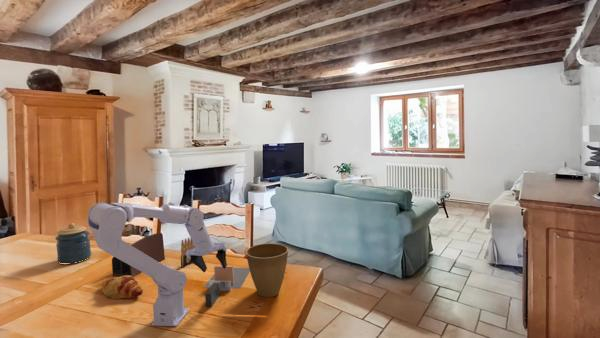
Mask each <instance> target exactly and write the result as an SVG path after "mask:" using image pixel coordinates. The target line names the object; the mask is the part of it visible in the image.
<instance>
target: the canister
mask: <svg viewBox="0 0 600 338" xmlns="http://www.w3.org/2000/svg"><path fill="white" fill-rule="evenodd" d="M56 234H57V236H55V241H56V245H55V247H56V251H57V252H56V253H57V258H56V259H57V262H58V263H59V262H60V263H75V262H79V261H82V260H85V259H87V258H89V257H90V256H91V257H92V250H91V242H90V241H91V239H90V238H89V237H90V236H89V235H90V231H88V230H87V227H86V226H83V225H76V224H75V223H74V222H70V223H69V224H68V225H67V226H66V227H62V228H60V230H59V231H57V232H56ZM91 257H90V258H91ZM90 258H89V259H90ZM87 260H88V259H87ZM85 261H86V260H85ZM75 264H76V263H75Z"/></svg>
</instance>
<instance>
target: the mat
mask: <svg viewBox="0 0 600 338" xmlns="http://www.w3.org/2000/svg"><path fill="white" fill-rule="evenodd" d="M233 269H234V284H233V285H231V289H238V290H239V289H241V288H242V286H243V284H244V282H245V281H246V279H247V277H248V276H249V273H250V269H249V267H233ZM209 280H215V273H213V275H212V276H211V278H210V279H209ZM209 280H208V281H207V282H206V284H205V285H204V286H203V289H204V288H205V289H209Z"/></svg>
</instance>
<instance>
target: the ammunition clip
mask: <svg viewBox="0 0 600 338" xmlns="http://www.w3.org/2000/svg"><path fill="white" fill-rule="evenodd" d="M180 246H181V247H180V248H181V249H180V253H181V254H180V267H182V268H186V267H188V266H189V265H191V264H193V263H191V262H190V260H191V257H190V258H187V256H186V252H187V250H190V249H193V248H195V245H194V243H193V241H192V239H191V238H190V236H189V237H187V238H185V239H184V240H183V239H182V240H181V244H180ZM187 265H188V266H187ZM185 266H186V267H185Z"/></svg>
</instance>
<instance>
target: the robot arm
mask: <svg viewBox="0 0 600 338" xmlns="http://www.w3.org/2000/svg"><path fill="white" fill-rule="evenodd" d="M204 216H205V215H204V211H202V210H201V209H199V208H197V207H193V206H189V205H187V204H183V205H177V204H176V203H174V202H168V203H164V204H163V205H161V206H160V207H158V206H157V207H156V206H151V205H142V204H135V203H129V202H128V203H127V202H110V204H109V203H107V202H97V203H95V204H94V205H92V206H91V207H90V208H89V210H88V212H87V223H86V224H87V226H88V228H89V229H90V231H91V232H92V235H93V239H94V241H95V243H96V245H97V247H98V248H99V249H100V250H102V251H104V252H105V253H106V254H109V255H110V256H112V257H116V258H118V259H119V260H121V261H123V262H125V263H127V264H128V265H130V266H132V267H134V268H136V269H137V270H139V271H141V272H142V274H145V275H147V276H149V277H150V278H151V279H152V280H153V283H155V284H156V285H157V298H156V300H155V301H154V302H153V305H152V306H153V307H152V310H153V311H152V312H153V322H152V323H151V326H153V327H155V326H156V327H158V326H159V327H161V326H162V327H177V326H178V325H179V324H180V322H182V320H183V319H184V317H185V316H186V315H187V314H188V312H189V310H190V307H185V299H184V287H186V284H187V280H188V277H187V275H186V273H185V272H183V271H182V270H181V271H180V270H177V269H176V268H173V267H171V266H170V265H167V264H163V263H161V262H160V263H159V262H158V261H156V260H154V259H153V258H151V257H149V256H148V255H146V254H144V253H143V252H141V251H139V250H138V249H136V248H134V247H133V246H131V245H132V244H130V243H128V242H126V241H125V240H123V239H122V235H123V232H124V229H125V226H126V223H130V222H132V221H133V220H134V219H135V218H152V219H158V220H159V221H160V222H161V223H162V224H173V225H175V224H176V225H183V224H184V226H185V228H186V231H187V233H188V235H189V238H190V239H192V241H193V243H194V245H195V248H193V249H190V250H187V252H186V256H187V258H190V257H191V260H190V262H191V263H192V264H193V265H195V266H196V267H197V268H198V269H200V270H201V271H202V272H203V273H206V271H207V270H208V266H207V264H206V262H205V260H204V257H205V256H207V255H210V254H213V253H215V252H216V255H215V258H216V259H217V260H218V261H219V262H220V265H222V267H223V268H224V269H225V268H226V266H227V265H228V264H227V256H226V255H227V250H228V248H229V245H228V244H227V242H213V240H212V238H211V235H210V233H209V231H208V229H207V226H206V224H205V222H204Z"/></svg>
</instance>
